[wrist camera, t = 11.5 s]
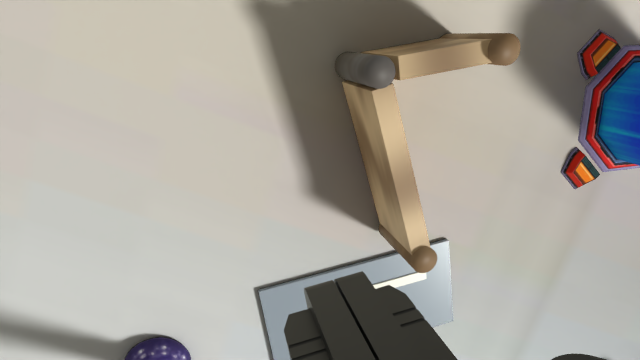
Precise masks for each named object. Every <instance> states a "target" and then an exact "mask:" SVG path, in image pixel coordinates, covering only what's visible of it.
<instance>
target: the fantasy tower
mask: <svg viewBox="0 0 640 360" xmlns="http://www.w3.org/2000/svg"><path fill="white" fill-rule="evenodd" d="M616 53H617V54H616ZM577 56H578V60H579V65H580V69H581V74H582V75H583V76H584V78H585V79H586V80H587V79H589V78H590V77H592V76H594V75H596V74H597V75H596V76H595V77H594V79H593V80H592V81H591V82H590V83H589V84H588V85H587V86H586V89H585V96H584V102H583V109H582V116H581V123H580V130H579V136H578V141H579V142H580V143H581V145H582V146H583V147H584V149H585V150H586V151H587V153H588V154H589V155H590V156H591V158H592V159H593V160H594V162H595V163H596V164H597V165H598V167H599V168H600V169H601V171H602V172H607V171H615V170H624V169H632V168H640V45H626V46H623V47H622V48H620V46H619V45H618V43H617V42H616V40H615V39H614V38H613V37H611V36H610V35H608V34H606V33H604V32H603V31H601V30H598V31H597V32H596V33H595V34H594V35H593V36H592V38H591V39H590V40H589V41H588V42H587V43H586V44H585V45H584V46H583V47H582V48H581V50H580V51H579V52H578V53H577ZM561 173H562V174H563V176H564V177H565V178H566V179H567V180H568V182H569V183H570V184H571V185H572V187H573V188H574V189H577V188H578V187H580V186H582V185H584V184H586V183H588V182H590V181H592V180H594V179H596V178H597V177H598V176H599V175H600V174H599V172H598V171H597V170H596V169H595V167H594V166H593V165H592V163H591V162H590V161H589V160H588V158H587V157H586V156H585V155H584V154H583V153H582V152H581V151H580V150H579V149H578V148H577V147H576V148H575V149H574V150H573V151H572V152H571V153H570V154H569V156H568V158H567V160H566V162H565V164H564V166H563V168H562V170H561Z"/></svg>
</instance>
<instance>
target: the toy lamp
mask: <svg viewBox="0 0 640 360" xmlns="http://www.w3.org/2000/svg"><path fill="white" fill-rule="evenodd" d="M125 360H191V357H190V354H189V352H188V350H187V349H186V348H185V347H184V346H183V345H182V344H181V343H179V342H177V341H175V340H173V339H170V338H163V337H159V338H152V339H149V340H146V341H143V342H140V343H139V344H138V345H136V346H135V347H133V348H132V349H131V350H130V351H129V352H128V354H127V356H126V357H125Z"/></svg>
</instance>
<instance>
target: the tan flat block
mask: <svg viewBox="0 0 640 360" xmlns="http://www.w3.org/2000/svg"><path fill="white" fill-rule="evenodd" d="M361 53H363V54H372V55H381V56H386V57H388V58H390V59H391V60H392V62H393V63H394V66H395V77H394V79H397V80H404V79H410V78H415V77H420V76H425V75H430V74H436V73H441V72H446V71H451V70H456V69H462V68H467V67H472V66H477V65H483V64H494V65H505V66H506V65H510V64H512V63H513V62H514V61H515V60H516V59H517V57H518V56H519V53H520V42H519V39H518V38H517V37H516V36H515V35H514V34H511V33H478V34H445V35H443V36H442V37H441V38H439V39H433V40H428V41H422V42H416V43H411V44H405V45H399V46H394V47H388V48H382V49H377V50H371V51H365V52H361Z"/></svg>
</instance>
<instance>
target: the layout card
mask: <svg viewBox="0 0 640 360" xmlns="http://www.w3.org/2000/svg"><path fill="white" fill-rule="evenodd" d="M430 247H431V248H432V249H433V250H434V251H435V252H436V254H437V263H436V265H435V266H434V268H433V269H432V270H430V271H429V272H426V273H418V272H416V271H415V270H414V269H413V268H412V267H411V266H410V265H409V264H408V263H407V261H406V260H405V259H404V258H403V257H402V256H401V255H400V254H399V253H398V252H396V253H393V254H389V255H385V256H382V257H378V258H374V259H370V260H367V261H363V262H359V263H356V264H352V265H348V266H345V267H341V268H337V269H333V270H330V271H326V272H322V273H319V274H315V275H311V276H308V277H304V278H300V279H296V280H293V281H289V282H285V283H282V284H278V285H274V286H270V287H267V288H263V289H259V290H258V291H259V296H260V300H261V305H262V309H263V314H264V318H265V323H266V327H267V332H268V336H269V341H270V345H271V350H272V354H273V359H274V360H291V359H290V355H289V351H288V346H287V342H286V338H285V334H284V328H285V324H286V321H287V318H288V315H289V314H292V313H295V312H299V311H302V310H306V309H308V308H307V303H306V299H305V294H304V288H306V287H309V286H313V285H316V284H320V283H323V282H327V281H330V280H333V281H334V279H337V278H340V277H344V276H347V275H351V274H354V273H358V272H361V271H363V272H364V273H365V274H366V276H367V277H368V279H369V280H370V282H371V283H372V285H373V286H374V288H375V289H377V288H380V287H383V286H387V285H390V286H392V287H394V288H396V289H398V290H400V291H402V292H403V293H405V294H406V295H407V296H408V297H409V299H410V300H411V301H412V302H413V304H414V305H415V306H416V309H418V310H419V311H420V313H421V314H422V315H423V316H424V319H425V320H427V322H428V323H429V324H430V325H431V327H436V326H439V325H442V324H445V323H448V322H452V321H453V304H452V287H451V270H450V254H449V240H447V239H445V240H441V241H437V242H433V243H430Z"/></svg>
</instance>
